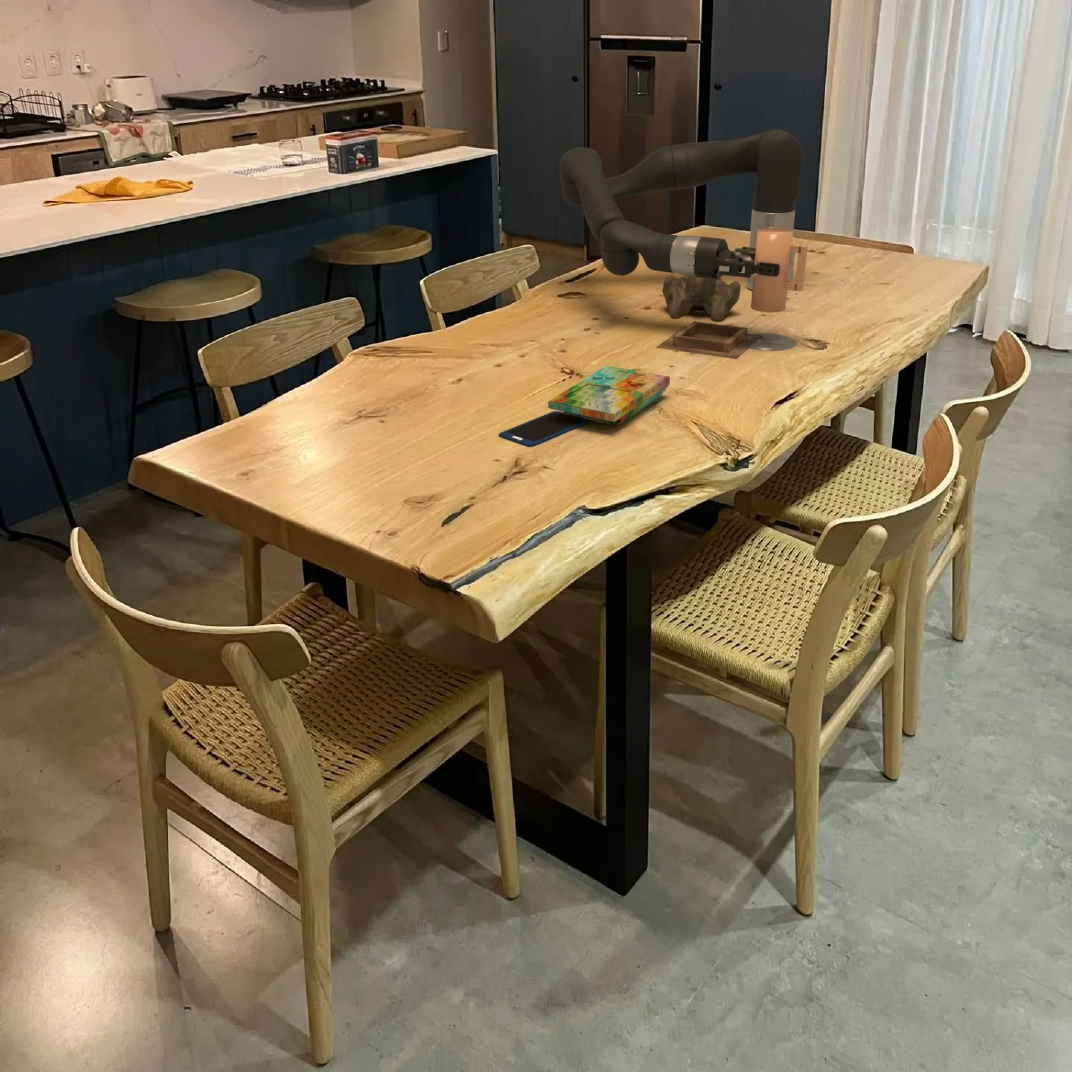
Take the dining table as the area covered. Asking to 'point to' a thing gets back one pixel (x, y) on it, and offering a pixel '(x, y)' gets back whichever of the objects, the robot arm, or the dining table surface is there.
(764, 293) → the peach orange tall mug
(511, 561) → the dining table surface
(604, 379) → the puzzle game
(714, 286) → the decorative stone
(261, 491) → the dining table surface
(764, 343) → the grey disc
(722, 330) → the holder
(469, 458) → the dining table surface
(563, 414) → the cell phone
